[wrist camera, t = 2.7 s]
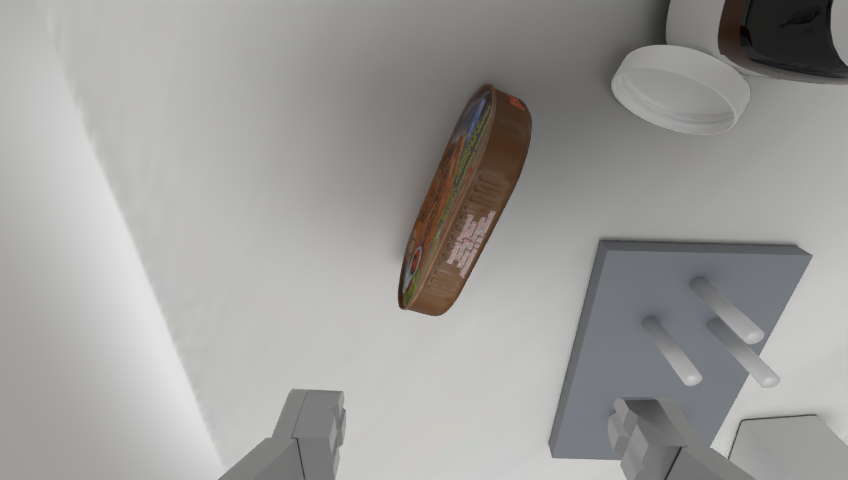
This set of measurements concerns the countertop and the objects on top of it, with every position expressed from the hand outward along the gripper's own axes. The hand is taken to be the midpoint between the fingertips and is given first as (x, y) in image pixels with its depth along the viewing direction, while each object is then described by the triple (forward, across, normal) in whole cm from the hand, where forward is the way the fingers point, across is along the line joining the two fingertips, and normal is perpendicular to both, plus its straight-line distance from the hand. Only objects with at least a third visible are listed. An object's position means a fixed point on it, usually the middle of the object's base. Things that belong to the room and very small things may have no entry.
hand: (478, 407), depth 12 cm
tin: (+19, 0, 0) cm, 19 cm away
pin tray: (+19, -19, +16) cm, 31 cm away
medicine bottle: (+19, -34, +26) cm, 47 cm away
